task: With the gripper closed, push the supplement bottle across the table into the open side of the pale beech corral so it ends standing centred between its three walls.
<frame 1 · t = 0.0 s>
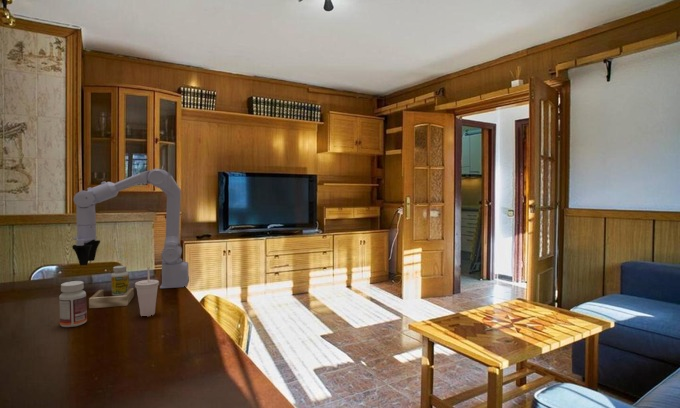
hand: (87, 262, 140), 10 cm above the table, tool pointing down, fingers open, 7 cm apart
supplement bottle: (120, 294, 137), on the table
beech corral: (112, 302, 127), on the table
smoothie: (147, 315, 116), on the table
pill bottle: (73, 324, 108), on the table
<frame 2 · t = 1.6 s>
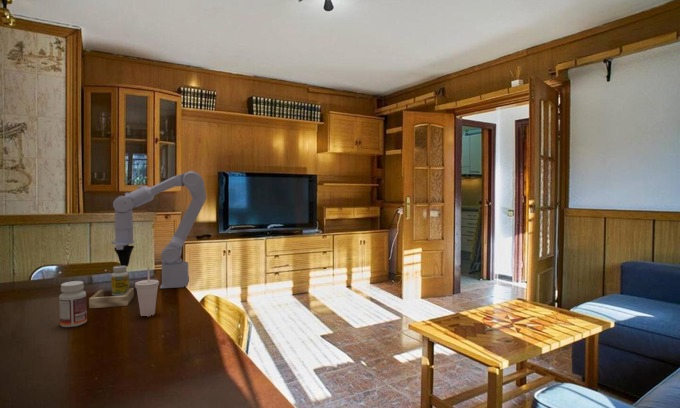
hand: (124, 266, 143), 8 cm above the table, tool pointing down, fingers closed
nothing on the table moved.
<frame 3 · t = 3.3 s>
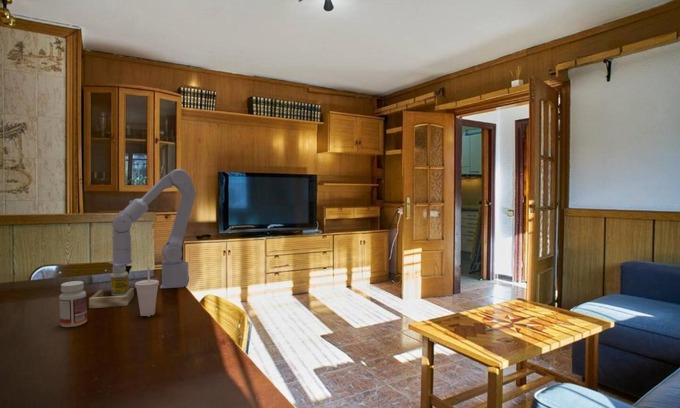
hand: (122, 286, 140), 2 cm above the table, tool pointing down, fingers closed, pressing on supplement bottle
supplement bottle: (120, 294, 137), on the table, touching gripper
everything else where it was.
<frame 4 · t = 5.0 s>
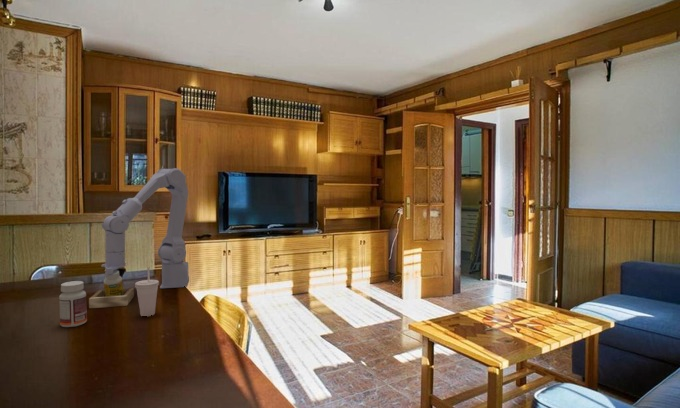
hand: (115, 291, 132), 2 cm above the table, tool pointing down, fingers closed, pressing on supplement bottle
supplement bottle: (114, 298, 131), on the table, touching gripper
everything else where it was.
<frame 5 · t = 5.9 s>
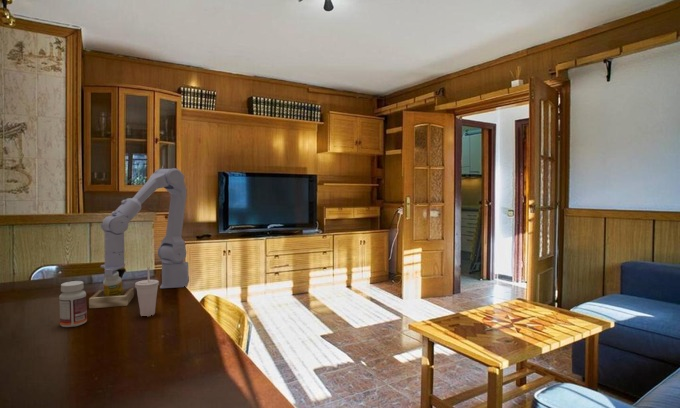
hand: (114, 292, 131), 2 cm above the table, tool pointing down, fingers closed, pressing on supplement bottle
supplement bottle: (114, 299, 130), on the table, touching gripper
everything else where it was.
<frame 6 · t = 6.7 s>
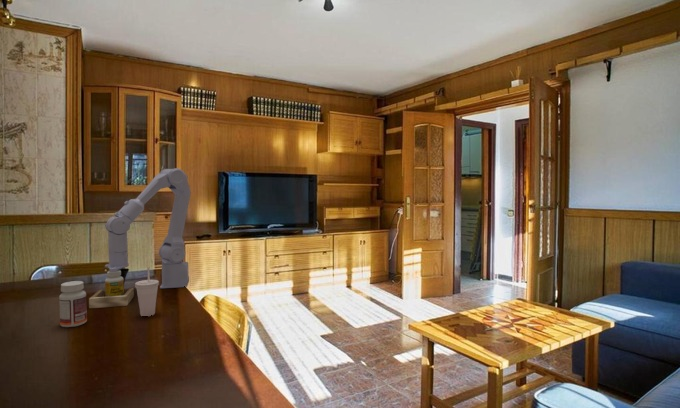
hand: (119, 290, 135), 2 cm above the table, tool pointing down, fingers closed
supplement bottle: (114, 300, 130), on the table
everything else where it was.
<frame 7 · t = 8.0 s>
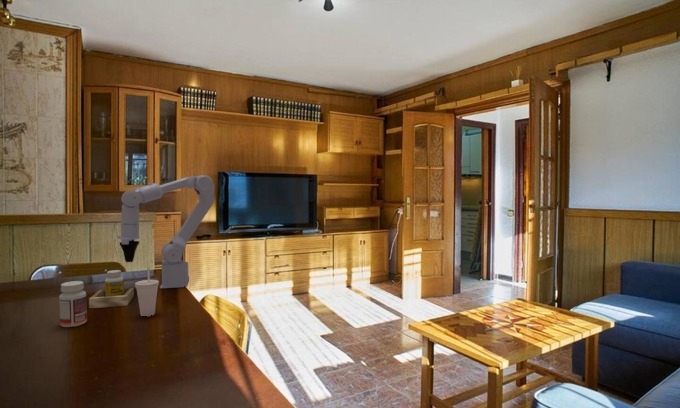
hand: (129, 261, 141), 10 cm above the table, tool pointing down, fingers closed
nothing on the table moved.
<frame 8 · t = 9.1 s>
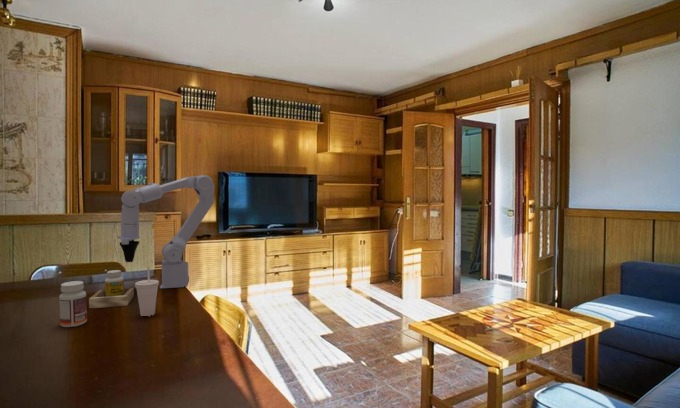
hand: (129, 261, 141), 10 cm above the table, tool pointing down, fingers closed
nothing on the table moved.
at the end: supplement bottle 2.5 cm off-centre on the beech corral, point 0.0 cm above the beech corral's base; supplement bottle tilted 0° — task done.
